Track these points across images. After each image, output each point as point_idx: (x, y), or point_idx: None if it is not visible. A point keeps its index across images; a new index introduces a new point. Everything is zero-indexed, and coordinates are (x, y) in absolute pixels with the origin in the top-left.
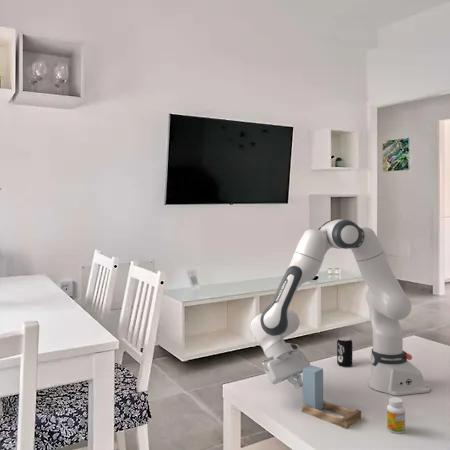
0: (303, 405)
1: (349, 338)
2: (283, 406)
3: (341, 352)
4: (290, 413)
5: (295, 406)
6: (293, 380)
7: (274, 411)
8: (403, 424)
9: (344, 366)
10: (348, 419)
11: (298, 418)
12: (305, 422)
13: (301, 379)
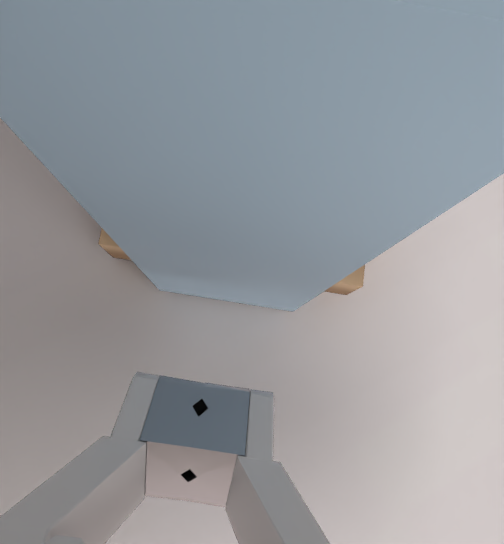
0: (342, 279)
1: None
2: (353, 502)
3: None
4: (437, 363)
5: (283, 400)
6: (317, 528)
7: (499, 513)
8: None
9: None
10: None
11: (470, 260)
12: (491, 184)
13: (94, 443)
